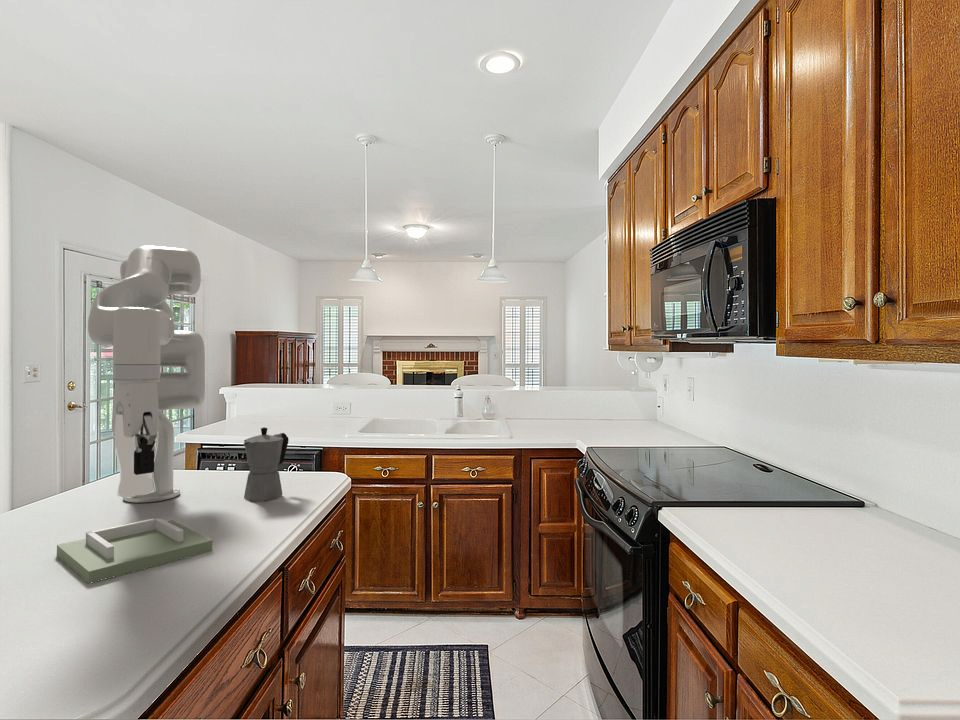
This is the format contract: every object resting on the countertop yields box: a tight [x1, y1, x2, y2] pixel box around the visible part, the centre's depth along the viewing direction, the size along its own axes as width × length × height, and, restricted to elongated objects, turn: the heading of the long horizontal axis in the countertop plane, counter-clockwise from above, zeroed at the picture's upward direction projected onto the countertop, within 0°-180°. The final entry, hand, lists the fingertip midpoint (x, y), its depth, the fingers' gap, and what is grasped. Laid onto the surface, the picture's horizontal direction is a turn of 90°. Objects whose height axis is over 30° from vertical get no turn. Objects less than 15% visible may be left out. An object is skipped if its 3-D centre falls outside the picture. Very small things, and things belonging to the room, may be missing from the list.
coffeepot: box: [243, 427, 290, 503], centre depth 145 cm, size 15×9×18 cm, turn 159°
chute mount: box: [56, 516, 213, 584], centre depth 104 cm, size 18×20×4 cm
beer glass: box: [114, 413, 158, 498], centre depth 104 cm, size 7×7×15 cm
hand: (136, 469), depth 104 cm, fingers closed on beer glass, 6 cm apart
